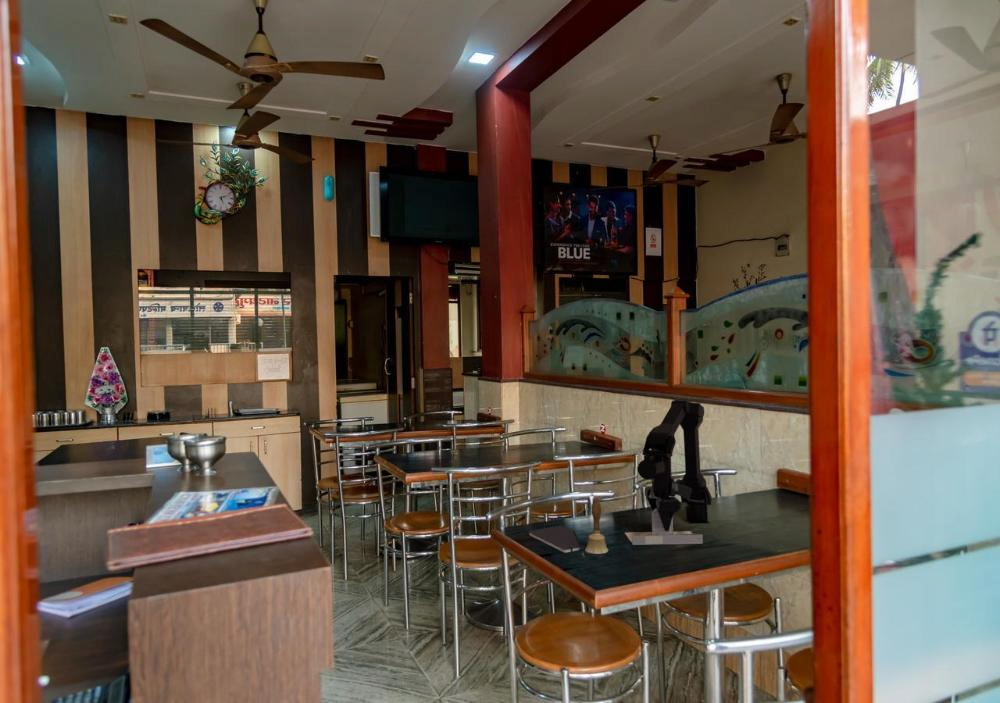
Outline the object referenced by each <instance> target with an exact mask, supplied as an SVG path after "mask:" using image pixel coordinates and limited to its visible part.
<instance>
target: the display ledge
mask: <svg viewBox="0 0 1000 703" xmlns="http://www.w3.org/2000/svg"><path fill="white" fill-rule="evenodd" d="M624 534H625V535H626V537H627V538H628V540H629V541H630V542H631V544H632V535H652V531H645V532H644V531H643V532H640V531H638V532H637V531H636V532H624ZM673 534H693V532H692V531H691V530H690V531H689V530H688V531H687V530H686V531H685V530H684V531H673ZM690 544H691V545H693V544H695V545H696V544H700V543H690ZM642 545H643V546H644V545H646V546H648V545H651V544H642ZM642 545H641V546H642Z"/></svg>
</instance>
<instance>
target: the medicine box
mask: <svg viewBox="0 0 1000 703" xmlns="http://www.w3.org/2000/svg"><path fill="white" fill-rule="evenodd" d="M673 518H674V517H672V521H671V525H670V528H669V531H665V530H664V527H663V525H662V522H661V519H660V517H659V514H658V511H657V509H655V510H653V511H652V510H651V532H652V535H663V534H673V532H674V522H673V521H674V519H673Z"/></svg>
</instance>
